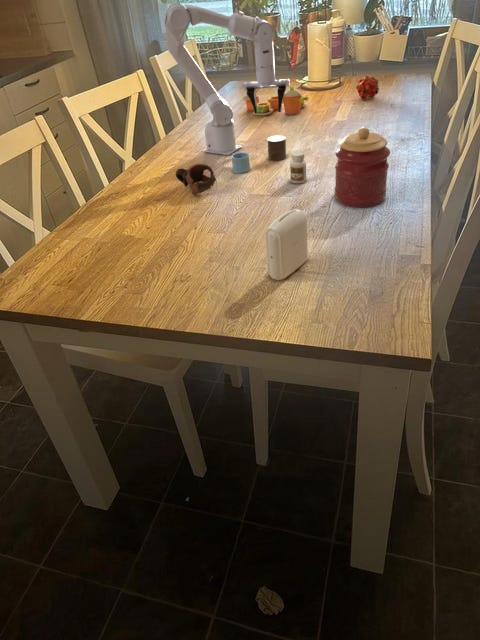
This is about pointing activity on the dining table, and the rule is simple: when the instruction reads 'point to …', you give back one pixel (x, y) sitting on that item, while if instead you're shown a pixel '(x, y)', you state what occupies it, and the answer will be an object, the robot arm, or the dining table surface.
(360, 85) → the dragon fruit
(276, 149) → the middle chip
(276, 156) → the base chip
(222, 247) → the dining table surface
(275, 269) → the photo printer
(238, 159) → the cup
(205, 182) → the pottery mug
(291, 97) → the toy tea set
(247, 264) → the dining table surface
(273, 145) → the top chip
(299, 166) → the pill bottle
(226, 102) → the robot arm
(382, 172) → the kitchen canister
